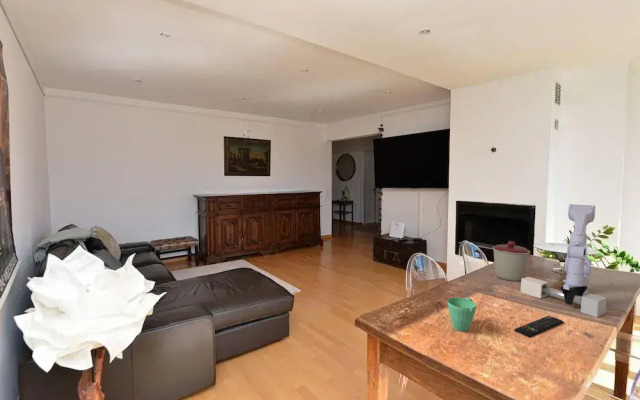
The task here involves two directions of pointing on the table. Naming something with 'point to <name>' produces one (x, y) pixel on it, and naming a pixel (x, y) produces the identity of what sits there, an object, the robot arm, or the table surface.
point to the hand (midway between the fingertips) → (572, 302)
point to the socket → (593, 305)
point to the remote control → (538, 326)
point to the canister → (510, 261)
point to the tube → (559, 294)
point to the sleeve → (533, 286)
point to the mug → (461, 313)
